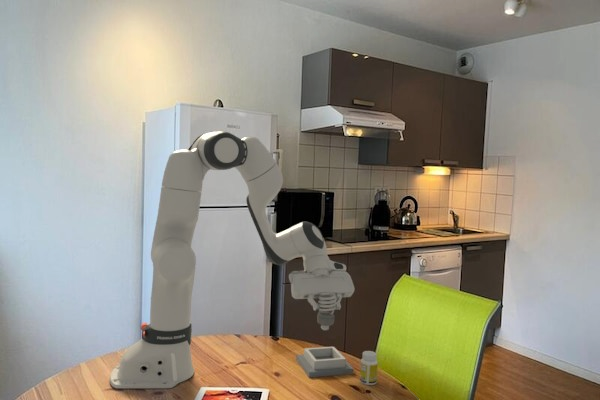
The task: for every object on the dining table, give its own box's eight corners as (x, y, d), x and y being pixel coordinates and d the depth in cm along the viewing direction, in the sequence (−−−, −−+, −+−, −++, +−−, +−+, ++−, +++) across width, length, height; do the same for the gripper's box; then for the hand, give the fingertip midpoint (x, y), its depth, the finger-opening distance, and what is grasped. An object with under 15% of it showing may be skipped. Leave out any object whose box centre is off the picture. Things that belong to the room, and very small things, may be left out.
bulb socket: (308, 377, 131) (309, 363, 131) (296, 359, 144) (296, 347, 144) (353, 373, 136) (353, 360, 135) (337, 356, 148) (337, 344, 148)
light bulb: (334, 329, 142) (337, 291, 141) (333, 334, 136) (337, 295, 136) (316, 327, 142) (319, 289, 142) (315, 332, 137) (318, 293, 136)
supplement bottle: (377, 379, 132) (379, 351, 132) (375, 386, 128) (377, 357, 127) (360, 377, 133) (362, 349, 133) (358, 384, 129) (360, 355, 128)
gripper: (289, 265, 142) (297, 305, 133) (350, 264, 148) (361, 302, 139) (285, 276, 146) (292, 315, 137) (344, 275, 152) (354, 312, 143)
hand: (327, 309), depth 138 cm, fingers closed on light bulb, 6 cm apart
